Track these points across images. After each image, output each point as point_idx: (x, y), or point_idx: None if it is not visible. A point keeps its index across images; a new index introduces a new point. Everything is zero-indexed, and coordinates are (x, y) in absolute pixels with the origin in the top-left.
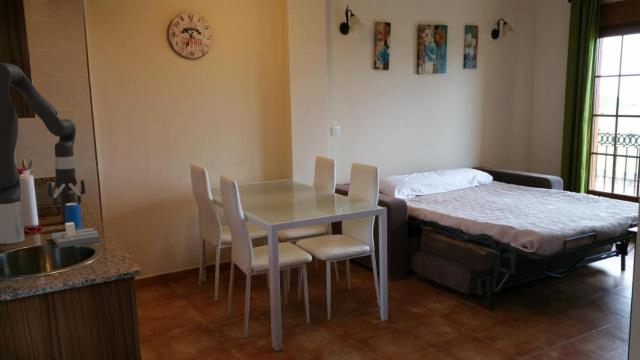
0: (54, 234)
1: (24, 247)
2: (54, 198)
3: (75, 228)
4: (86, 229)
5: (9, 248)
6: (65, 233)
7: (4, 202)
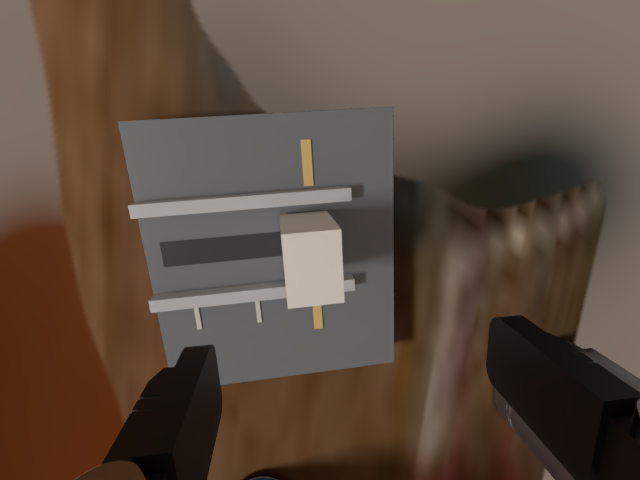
0: (384, 328)
1: (524, 234)
2: (630, 404)
3: (256, 478)
4: None
5: (580, 254)
6: None
7: None
